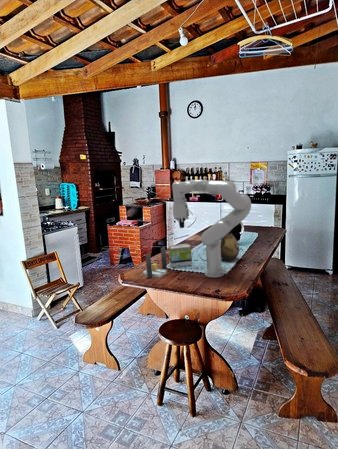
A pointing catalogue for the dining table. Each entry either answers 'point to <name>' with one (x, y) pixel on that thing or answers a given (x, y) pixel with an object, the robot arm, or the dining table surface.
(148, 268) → the post left
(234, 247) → the ceramic jug
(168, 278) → the dining table surface
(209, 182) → the robot arm
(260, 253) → the dining table surface
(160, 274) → the panel
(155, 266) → the toggle amber
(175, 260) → the tea box
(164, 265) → the post right
